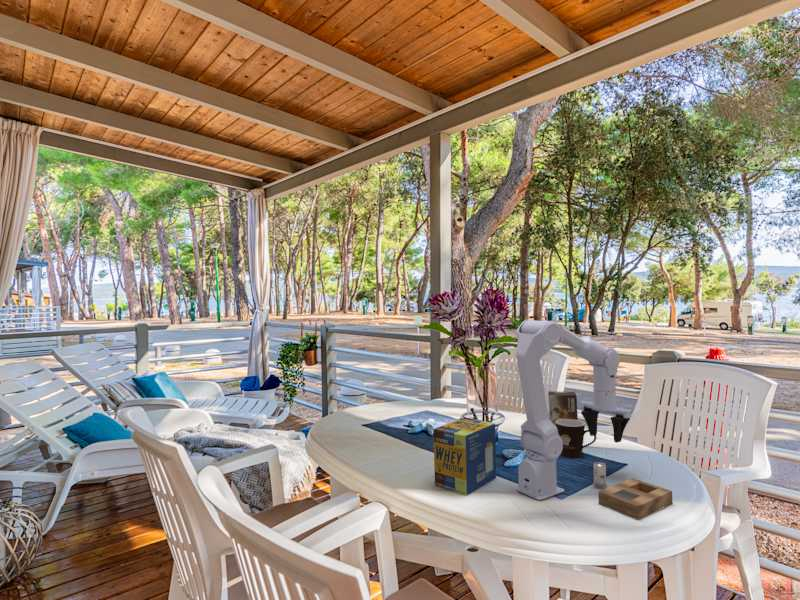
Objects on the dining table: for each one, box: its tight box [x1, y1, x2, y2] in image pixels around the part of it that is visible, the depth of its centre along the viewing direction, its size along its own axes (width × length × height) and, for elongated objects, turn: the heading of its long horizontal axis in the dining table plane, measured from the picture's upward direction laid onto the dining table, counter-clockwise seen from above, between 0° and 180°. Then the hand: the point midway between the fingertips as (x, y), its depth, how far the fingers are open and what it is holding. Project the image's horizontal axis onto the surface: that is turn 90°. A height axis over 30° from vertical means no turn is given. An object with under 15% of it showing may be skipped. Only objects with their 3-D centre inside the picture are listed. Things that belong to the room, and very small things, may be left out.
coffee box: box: [547, 390, 579, 428], centre depth 166 cm, size 9×6×16 cm
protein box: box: [433, 417, 497, 496], centre depth 131 cm, size 10×15×16 cm
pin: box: [592, 461, 607, 490], centre depth 125 cm, size 3×3×6 cm
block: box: [597, 477, 673, 520], centre depth 115 cm, size 14×10×3 cm
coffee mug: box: [556, 419, 597, 459], centre depth 149 cm, size 12×9×10 cm
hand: (605, 438), depth 134 cm, fingers open, 7 cm apart
